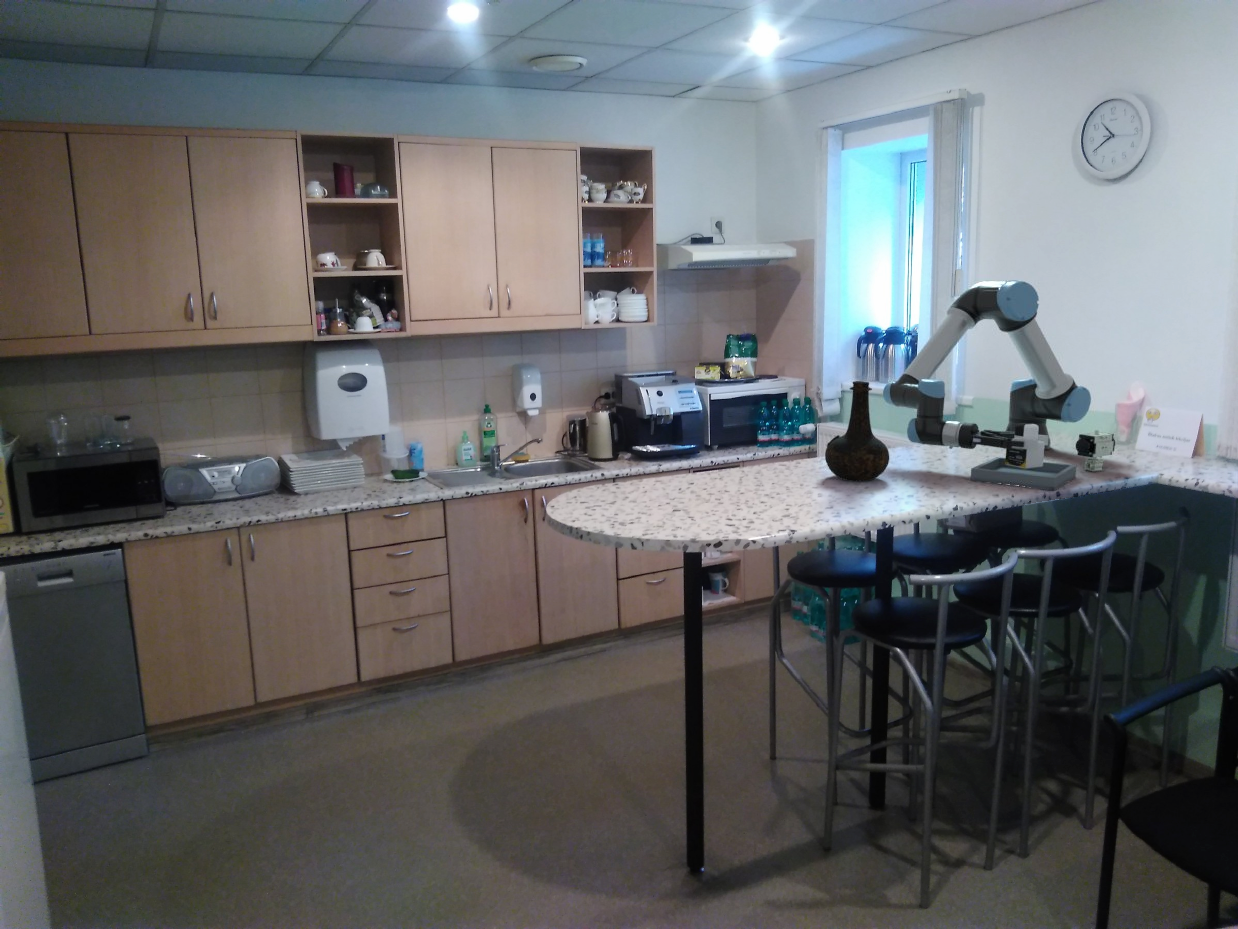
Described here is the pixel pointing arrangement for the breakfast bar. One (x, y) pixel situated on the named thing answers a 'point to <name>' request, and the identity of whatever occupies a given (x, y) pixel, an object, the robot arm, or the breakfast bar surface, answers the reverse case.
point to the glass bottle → (857, 443)
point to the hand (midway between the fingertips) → (1042, 442)
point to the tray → (1024, 474)
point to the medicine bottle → (1025, 456)
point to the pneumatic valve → (1095, 448)
